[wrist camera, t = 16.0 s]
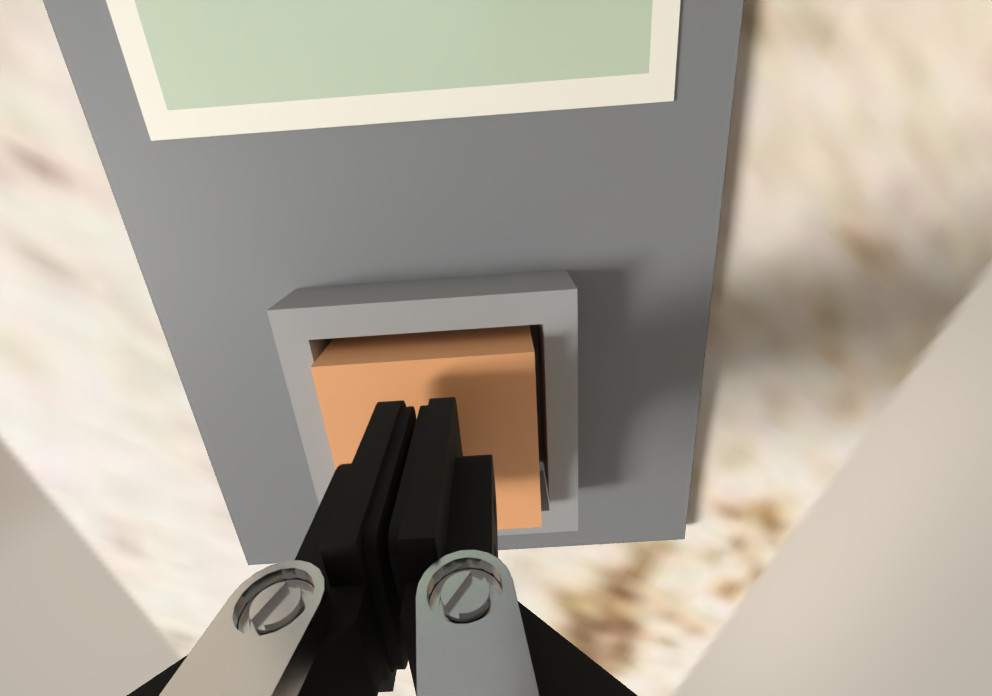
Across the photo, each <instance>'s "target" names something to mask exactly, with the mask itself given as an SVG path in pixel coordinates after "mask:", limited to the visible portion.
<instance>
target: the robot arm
mask: <svg viewBox="0 0 992 696" xmlns="http://www.w3.org/2000/svg"><path fill="white" fill-rule="evenodd" d="M408 660H409V664H410V669H411V673H412V678H413V682H414V687H415V691H416V695H417V696H637V695H636V694H635V693H633V692H632V691H631V690H630V689H628V688H627V687H626V686H625V685H623V684H622V683H621V682H620V681H618V680H617V679H616V678H615V677H613V676H612V675H611V674H609V673H608V672H607V671H606V670H604V669H603V668H602V667H601V666H599V665H598V664H597V663H596V662H594V661H593V660H592V659H590V658H589V657H588V656H587V655H585V654H584V653H583V652H582V651H580V650H579V649H578V648H577V647H575V646H574V645H573V644H572V643H570V642H569V641H568V640H566V639H565V638H564V637H563V636H561V635H560V634H559V633H558V632H556V631H555V630H554V629H553V628H551V627H550V626H549V625H547V624H546V623H545V622H544V621H542V620H541V619H540V618H539V617H537V616H536V615H535V614H534V613H532V612H531V611H530V610H528V609H527V608H526V607H525V606H523V605H522V604H521V603H520V602H518V601H517V596H516V592H515V587H514V583H513V579H512V577H511V574H510V572H509V570H508V568H507V567H506V565H505V564H504V563H503V562H502V561H501V560H500V559H499V558H498V536H497V505H496V489H495V477H494V466H493V457H492V454H490V455H474V456H463V453H462V445H461V436H460V428H459V419H458V411H457V403H456V398H455V397H445V398H431V399H429V403H428V405H423V406H420V408H419V412H418V416H417V419H416V412H415V408H414V407H413V406H408V407H406V404H405V402H404V400H400V401H385V402H377V404H376V406H375V409H374V411H373V413H372V416H371V418H370V421H369V423H368V425H367V428H366V430H365V433H364V435H363V437H362V440H361V442H360V445H359V447H358V449H357V452H356V454H355V457H354V459H353V461H352V463H348V464H341V465H339V466H338V467H337V469H336V470H335V472H334V475H333V477H332V479H331V481H330V483H329V486H328V488H327V490H326V492H325V494H324V496H323V499H322V501H321V503H320V505H319V507H318V510H317V512H316V514H315V516H314V518H313V521H312V523H311V525H310V527H309V529H308V532H307V534H306V536H305V538H304V540H303V543H302V545H301V547H300V549H299V551H298V554H297V556H296V558H295V560H294V561H284V562H280V563H277V564H273V565H270V566H268V567H266V568H264V569H262V570H260V571H258V572H257V573H255V574H254V575H252V576H251V577H250V578H248V579H247V580H246V581H244V582H243V583H242V584H241V585H240V586H239V587H238V588H237V589H236V590H235V592H234V593H233V594H232V595H231V596H230V598H229V599H228V600H227V602H226V603H225V604H224V606H223V607H222V609H221V610H220V611H219V613H218V614H217V616H216V617H215V618H214V620H213V621H212V623H211V624H210V625H209V627H208V628H207V629H206V631H205V632H204V634H203V635H202V636H201V638H200V639H199V641H198V642H197V643H196V645H195V646H194V648H193V649H192V650H191V652H190V653H189V654H188V655H187V656H185V657H184V658H182V659H181V660H179V661H178V662H176V663H175V664H174V665H172V666H170V667H169V668H167V669H166V670H164V671H163V672H161V673H160V674H158V675H157V676H155V677H154V678H153V679H151V680H150V681H148V682H147V683H145V684H144V685H142V686H141V687H139V688H138V689H136V690H135V691H133V692H132V693H130V694H129V695H127V696H377V695H378V692H390V691H393V688H394V682H395V676H396V670H398V669H405V668H406V666H407V663H408Z"/></svg>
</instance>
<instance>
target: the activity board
mask: <svg viewBox="0 0 992 696" xmlns="http://www.w3.org/2000/svg"><path fill="white" fill-rule="evenodd" d="M43 2H44V5H45V8H46V10H47V13H48V16H49V19H50V21H51V24H52V27H53V30H54V32H55V35H56V38H57V41H58V43H59V46H60V49H61V52H62V54H63V57H64V60H65V63H66V65H67V68H68V71H69V74H70V76H71V79H72V82H73V85H74V87H75V90H76V93H77V96H78V98H79V101H80V104H81V107H82V109H83V112H84V115H85V118H86V120H87V123H88V126H89V129H90V131H91V134H92V137H93V140H94V142H95V145H96V148H97V151H98V153H99V156H100V159H101V162H102V164H103V167H104V170H105V173H106V175H107V178H108V181H109V184H110V186H111V189H112V192H113V195H114V197H115V200H116V203H117V206H118V208H119V211H120V214H121V217H122V219H123V222H124V225H125V228H126V230H127V233H128V236H129V239H130V241H131V244H132V247H133V250H134V252H135V255H136V258H137V261H138V263H139V266H140V269H141V272H142V274H143V277H144V280H145V282H146V285H147V288H148V291H149V293H150V296H151V299H152V302H153V304H154V307H155V310H156V313H157V315H158V318H159V321H160V324H161V326H162V329H163V332H164V335H165V337H166V340H167V343H168V346H169V348H170V351H171V354H172V357H173V359H174V362H175V365H176V368H177V370H178V373H179V376H180V379H181V381H182V384H183V387H184V390H185V392H186V395H187V398H188V401H189V403H190V406H191V409H192V412H193V414H194V417H195V420H196V423H197V425H198V428H199V431H200V434H201V436H202V439H203V442H204V445H205V447H206V450H207V453H208V456H209V458H210V461H211V464H212V467H213V469H214V472H215V475H216V478H217V480H218V483H219V486H220V489H221V491H222V494H223V497H224V500H225V502H226V505H227V508H228V511H229V513H230V516H231V519H232V522H233V524H234V527H235V530H236V533H237V535H238V538H239V541H240V544H241V546H242V549H243V552H244V555H245V557H246V560H247V563H248V565H255V564H272V563H280V562H284V561H294V560H295V558H296V556H297V554H298V551H299V549H300V547H301V545H302V543H303V540H304V538H305V536H306V534H307V532H308V529H309V527H310V525H311V523H312V521H313V518H314V516H315V514H316V512H317V510H318V507H319V505H320V503H321V501H322V499H323V496H324V494H325V492H326V490H327V488H328V486H329V483H330V481H331V479H332V477H333V475H334V472H335V466H334V462H333V458H332V454H331V450H330V446H329V442H328V437H327V433H326V429H325V425H324V421H323V417H322V413H321V409H320V405H319V400H318V396H317V392H316V388H315V384H314V380H313V376H312V372H311V368H310V367H311V366H312V364H313V363H314V362H315V361H316V360H317V358H318V357H319V356H320V355H321V353H322V352H323V351H324V350H325V348H326V347H327V346H328V345H329V343H330V342H331V341H332V340H333V338H345V337H360V336H375V335H389V334H404V333H419V332H433V331H448V330H463V329H478V328H492V327H507V326H522V325H529V327H530V332H531V337H532V342H533V347H534V351H535V373H536V397H537V422H538V446H539V470H540V495H541V519H542V527H534V528H517V529H500V530H497V536H498V550H508V549H525V548H542V547H559V546H576V545H593V544H609V543H626V542H643V541H660V540H677V539H685V529H686V520H687V511H688V502H689V493H690V484H691V475H692V466H693V457H694V448H695V438H696V429H697V420H698V411H699V402H700V393H701V384H702V375H703V366H704V357H705V348H706V338H707V329H708V320H709V311H710V302H711V293H712V284H713V275H714V266H715V257H716V248H717V238H718V229H719V220H720V211H721V202H722V193H723V184H724V175H725V166H726V157H727V147H728V138H729V129H730V120H731V111H732V102H733V93H734V84H735V75H736V66H737V57H738V47H739V38H740V29H741V20H742V11H743V2H744V0H43Z"/></svg>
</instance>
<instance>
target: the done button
mask: <svg viewBox="0 0 992 696" xmlns="http://www.w3.org/2000/svg"><path fill="white" fill-rule="evenodd" d="M310 368H311V372H312V376H313V380H314V384H315V388H316V392H317V396H318V400H319V405H320V409H321V413H322V417H323V421H324V425H325V429H326V433H327V437H328V442H329V446H330V450H331V454H332V458H333V462H334V466H335V470H336V469H337V467H338V466H339V465H341V464H348V463H352V461H353V459H354V457H355V454H356V452H357V449H358V447H359V445H360V442H361V440H362V437H363V435H364V433H365V430H366V428H367V425H368V423H369V421H370V418H371V416H372V413H373V411H374V409H375V406H376V404H377V402H385V401H400V400H404V402H405V404H406V407H408V406H413V407H414V408H415V412H416V419H417V416H418V412H419V408H420V406H423V405H428V403H429V399H431V398H445V397H455V398H456V403H457V411H458V419H459V428H460V436H461V445H462V453H463V456H474V455H490V454H492V457H493V466H494V477H495V489H496V505H497V530H500V529H517V528H534V527H542V519H541V495H540V470H539V446H538V422H537V397H536V373H535V351H534V347H533V342H532V337H531V332H530V327H529V325H522V326H507V327H492V328H478V329H463V330H448V331H433V332H419V333H404V334H389V335H375V336H360V337H345V338H333V340H332V341H331V342H330V343H329V345H328V346H327V347H326V348H325V350H324V351H323V352H322V353H321V355H320V356H319V357H318V358H317V360H316V361H315V362H314V363H313V364H312V366H311V367H310Z"/></svg>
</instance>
